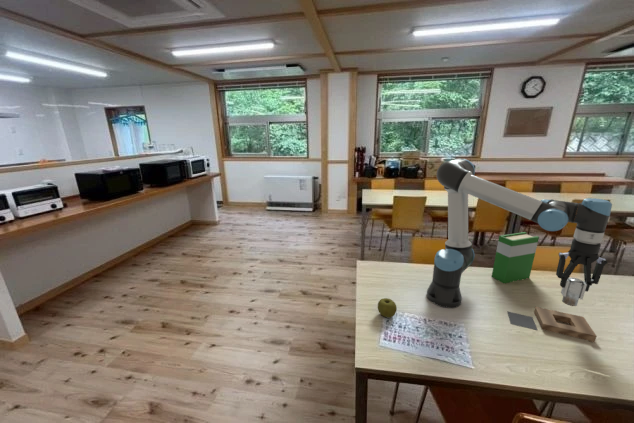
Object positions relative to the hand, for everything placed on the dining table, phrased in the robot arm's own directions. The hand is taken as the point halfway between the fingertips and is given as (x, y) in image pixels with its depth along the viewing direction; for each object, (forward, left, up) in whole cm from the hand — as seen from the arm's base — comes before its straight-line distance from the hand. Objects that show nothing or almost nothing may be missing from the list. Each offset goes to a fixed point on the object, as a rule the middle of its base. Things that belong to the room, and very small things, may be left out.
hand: (571, 295), depth 106 cm
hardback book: (-12, +37, -15) cm, 42 cm away
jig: (0, 0, -14) cm, 14 cm away
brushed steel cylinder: (0, 0, -3) cm, 3 cm away
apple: (-66, -23, -15) cm, 72 cm away
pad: (-14, -3, -14) cm, 20 cm away
